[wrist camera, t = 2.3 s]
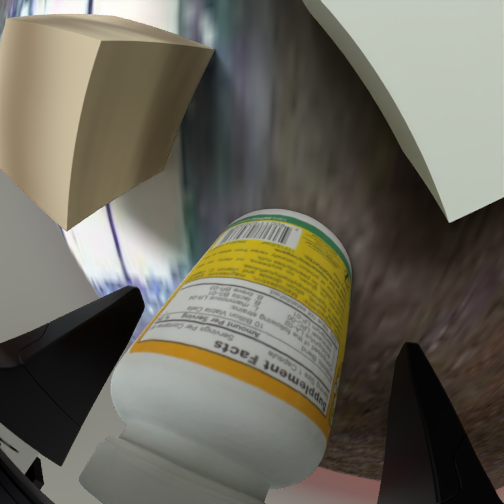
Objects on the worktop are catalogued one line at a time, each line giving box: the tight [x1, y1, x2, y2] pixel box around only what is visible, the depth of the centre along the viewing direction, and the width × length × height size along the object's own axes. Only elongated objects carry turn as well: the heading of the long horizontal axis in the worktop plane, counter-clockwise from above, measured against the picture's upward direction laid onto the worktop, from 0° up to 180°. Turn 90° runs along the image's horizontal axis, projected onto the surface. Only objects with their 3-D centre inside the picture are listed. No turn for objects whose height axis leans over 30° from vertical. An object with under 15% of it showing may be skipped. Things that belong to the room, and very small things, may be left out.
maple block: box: [0, 14, 215, 231], centre depth 7 cm, size 5×5×5 cm
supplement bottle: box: [79, 209, 352, 504], centre depth 7 cm, size 5×5×10 cm
